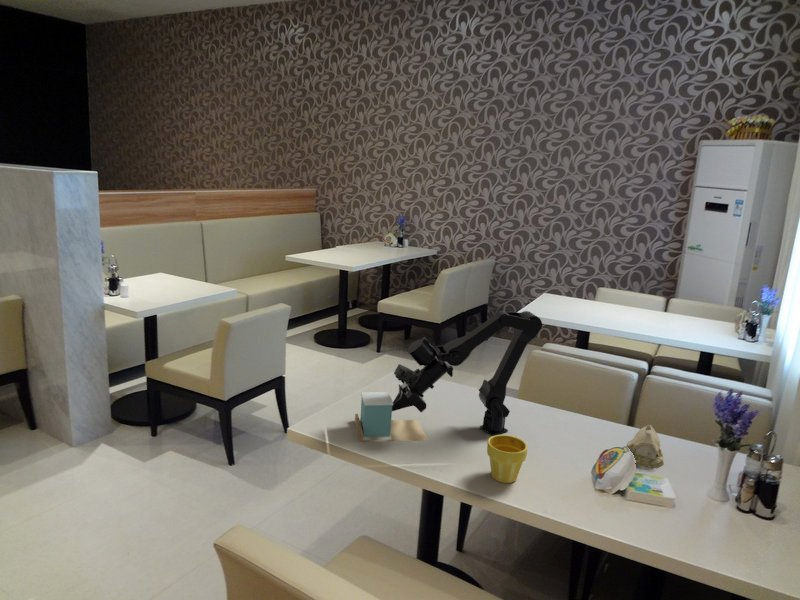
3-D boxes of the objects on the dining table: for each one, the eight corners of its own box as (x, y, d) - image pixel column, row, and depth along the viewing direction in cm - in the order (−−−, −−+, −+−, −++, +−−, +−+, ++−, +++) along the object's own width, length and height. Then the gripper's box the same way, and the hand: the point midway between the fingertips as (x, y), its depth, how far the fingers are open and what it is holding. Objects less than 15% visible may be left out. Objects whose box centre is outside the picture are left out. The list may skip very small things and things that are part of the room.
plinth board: (417, 421, 183) (418, 412, 182) (427, 442, 170) (428, 432, 169) (354, 422, 179) (355, 413, 179) (360, 443, 166) (360, 434, 165)
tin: (386, 424, 178) (388, 392, 176) (390, 436, 170) (393, 403, 168) (359, 424, 177) (361, 392, 174) (362, 437, 169) (364, 403, 166)
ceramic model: (662, 472, 162) (668, 439, 160) (620, 461, 167) (625, 429, 164) (665, 452, 174) (671, 422, 172) (626, 442, 179) (631, 412, 177)
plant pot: (479, 480, 150) (483, 446, 148) (489, 463, 160) (492, 431, 158) (519, 491, 147) (523, 456, 144) (526, 472, 156) (530, 439, 154)
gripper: (405, 347, 179) (368, 380, 179) (418, 368, 161) (377, 405, 161) (428, 371, 182) (391, 404, 183) (443, 394, 164) (402, 430, 165)
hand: (390, 410), depth 173 cm, fingers closed
